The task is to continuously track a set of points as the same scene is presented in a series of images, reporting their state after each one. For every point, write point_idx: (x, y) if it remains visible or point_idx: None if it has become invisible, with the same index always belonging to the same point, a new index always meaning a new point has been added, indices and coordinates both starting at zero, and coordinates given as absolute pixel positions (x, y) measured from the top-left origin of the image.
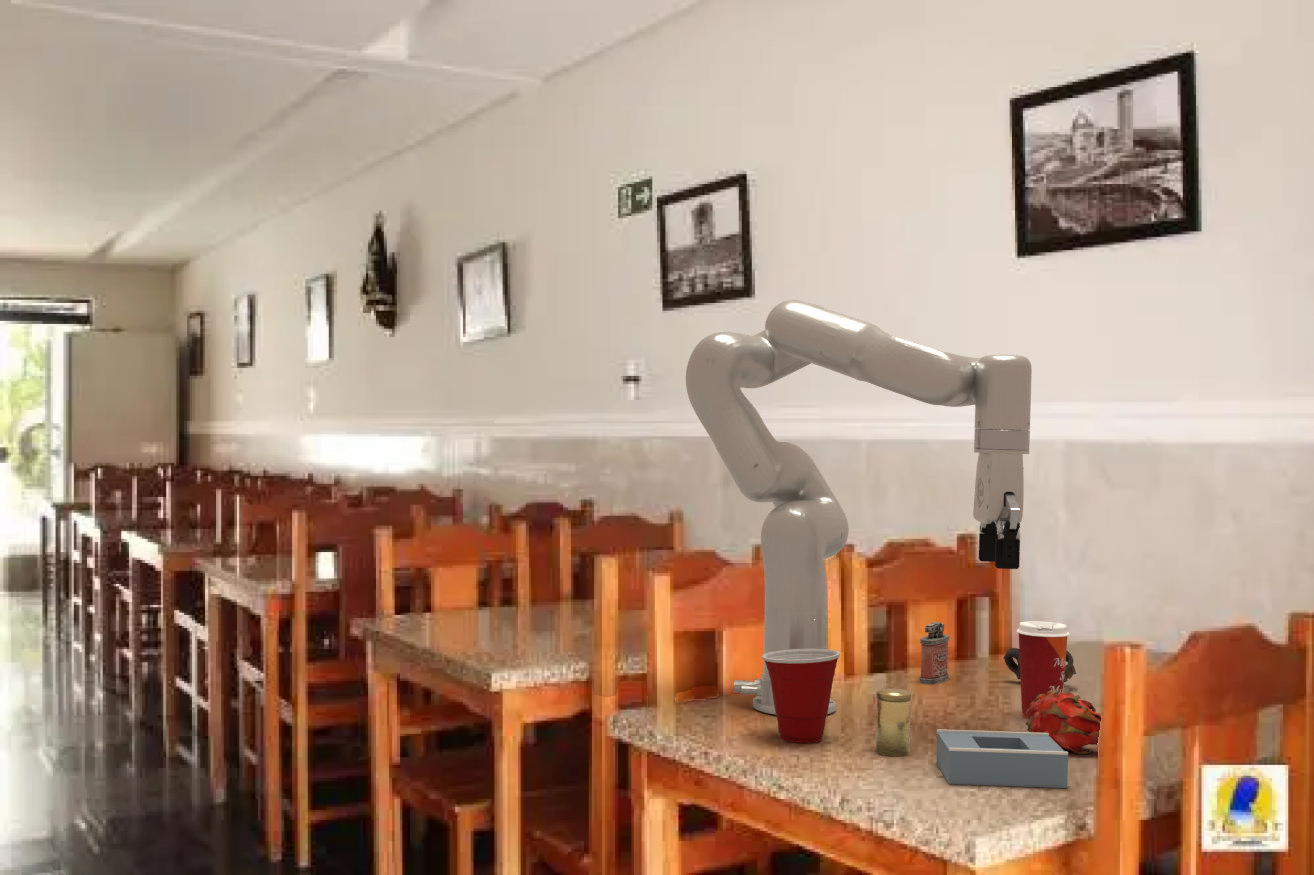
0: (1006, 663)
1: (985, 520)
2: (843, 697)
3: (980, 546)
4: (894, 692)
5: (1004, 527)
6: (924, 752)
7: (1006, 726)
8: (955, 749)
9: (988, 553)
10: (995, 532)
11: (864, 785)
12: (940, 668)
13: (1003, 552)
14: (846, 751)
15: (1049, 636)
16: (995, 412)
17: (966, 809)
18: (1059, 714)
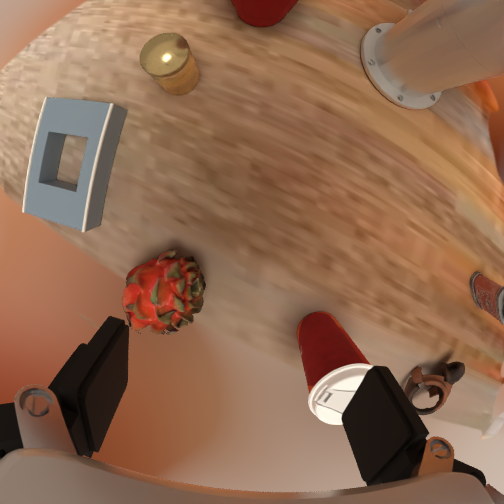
0: (457, 362)
1: (74, 467)
2: (448, 151)
3: (394, 399)
4: (158, 52)
5: (4, 433)
6: (172, 112)
7: (283, 271)
8: (44, 102)
9: (366, 404)
10: (382, 478)
11: (80, 33)
12: (480, 298)
13: (66, 362)
14: (194, 34)
15: (312, 391)
16: None
17: (14, 102)
18: (130, 278)
